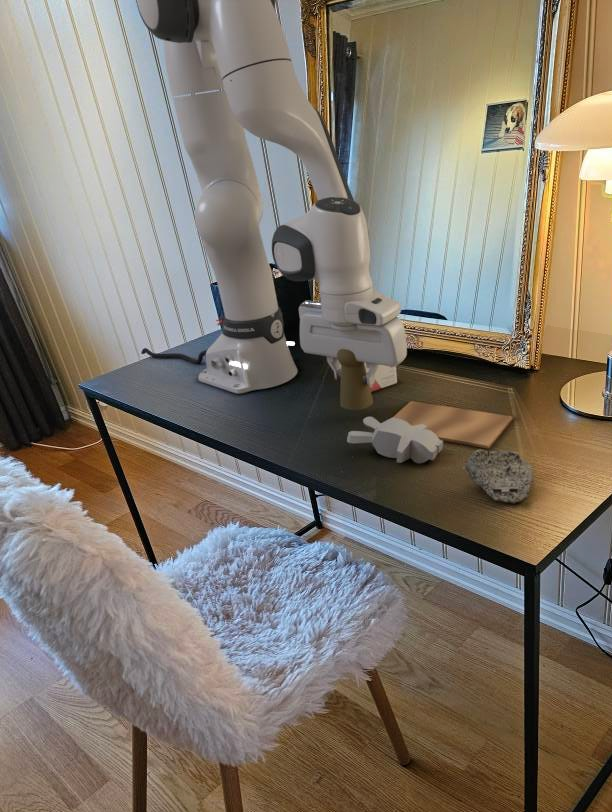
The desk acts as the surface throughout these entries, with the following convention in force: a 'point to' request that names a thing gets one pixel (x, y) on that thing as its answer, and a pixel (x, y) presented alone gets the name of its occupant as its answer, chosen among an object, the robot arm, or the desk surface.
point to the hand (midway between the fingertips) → (355, 381)
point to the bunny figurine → (399, 440)
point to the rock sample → (501, 474)
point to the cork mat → (456, 423)
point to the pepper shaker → (353, 382)
